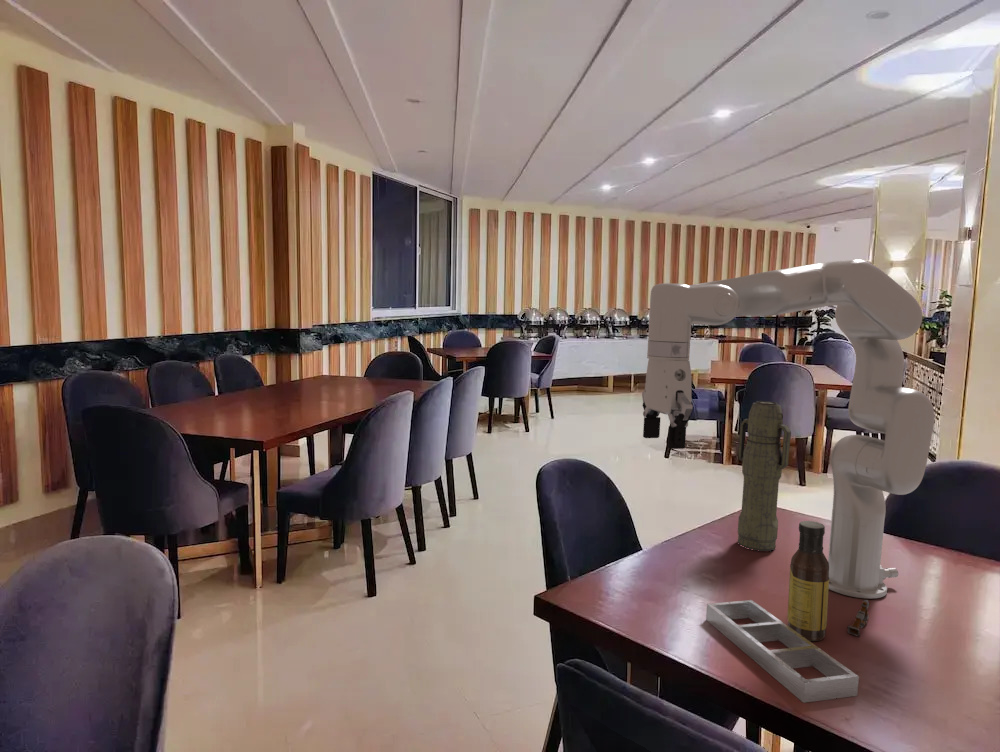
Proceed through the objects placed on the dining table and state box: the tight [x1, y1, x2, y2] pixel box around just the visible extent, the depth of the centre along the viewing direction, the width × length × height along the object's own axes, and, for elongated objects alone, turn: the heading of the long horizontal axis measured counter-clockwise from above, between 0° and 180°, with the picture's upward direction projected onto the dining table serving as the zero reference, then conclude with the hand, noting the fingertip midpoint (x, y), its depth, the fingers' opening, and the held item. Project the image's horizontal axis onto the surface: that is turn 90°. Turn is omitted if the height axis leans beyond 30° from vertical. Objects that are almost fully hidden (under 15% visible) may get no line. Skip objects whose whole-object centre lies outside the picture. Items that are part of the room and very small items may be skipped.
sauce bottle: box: [787, 520, 830, 642], centre depth 115 cm, size 6×6×20 cm
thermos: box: [737, 400, 792, 552], centre depth 158 cm, size 9×12×35 cm
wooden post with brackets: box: [847, 599, 870, 637], centre depth 119 cm, size 2×8×4 cm, turn 136°
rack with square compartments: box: [705, 599, 860, 704], centre depth 109 cm, size 9×26×3 cm, turn 14°
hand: (663, 442), depth 123 cm, fingers open, 9 cm apart
